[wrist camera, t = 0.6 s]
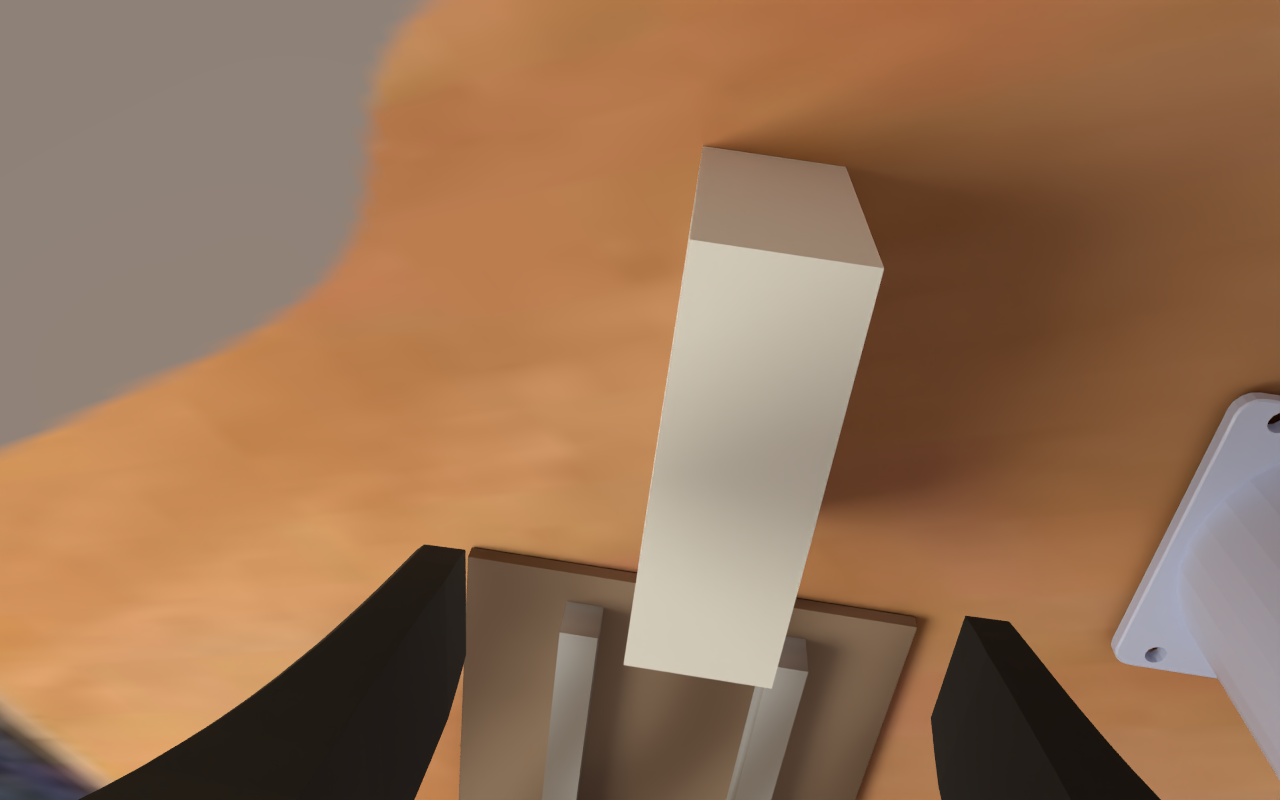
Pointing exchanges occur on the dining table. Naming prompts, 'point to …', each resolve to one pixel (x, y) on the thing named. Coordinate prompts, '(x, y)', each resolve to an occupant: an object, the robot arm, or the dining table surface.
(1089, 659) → the dining table surface
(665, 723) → the track board
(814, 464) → the cream rectangular block
